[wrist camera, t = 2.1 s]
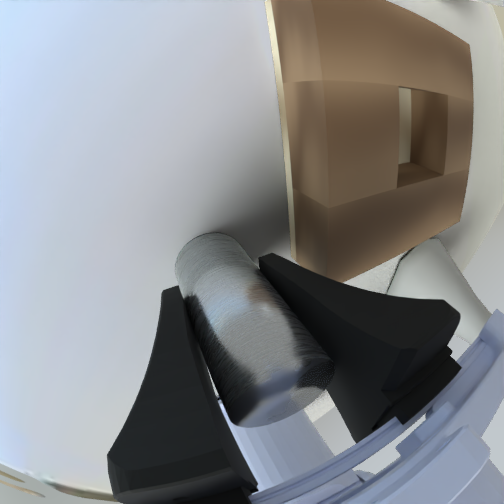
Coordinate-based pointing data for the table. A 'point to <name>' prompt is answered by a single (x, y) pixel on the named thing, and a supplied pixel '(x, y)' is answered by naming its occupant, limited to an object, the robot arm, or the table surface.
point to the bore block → (369, 129)
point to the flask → (440, 286)
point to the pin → (248, 334)
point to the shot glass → (492, 2)
